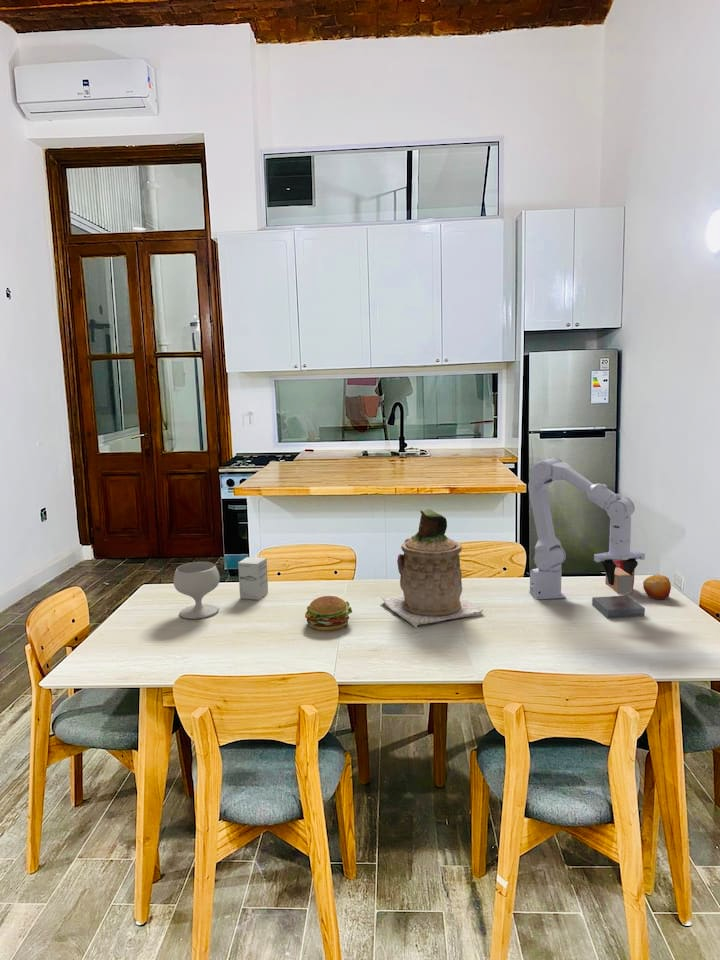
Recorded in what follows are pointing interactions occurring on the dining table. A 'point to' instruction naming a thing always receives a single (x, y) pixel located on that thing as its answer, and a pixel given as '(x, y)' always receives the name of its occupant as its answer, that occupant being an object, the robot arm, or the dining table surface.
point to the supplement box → (253, 578)
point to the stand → (618, 607)
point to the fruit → (657, 586)
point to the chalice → (197, 587)
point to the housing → (621, 581)
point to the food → (328, 613)
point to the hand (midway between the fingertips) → (618, 583)
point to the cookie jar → (430, 576)
